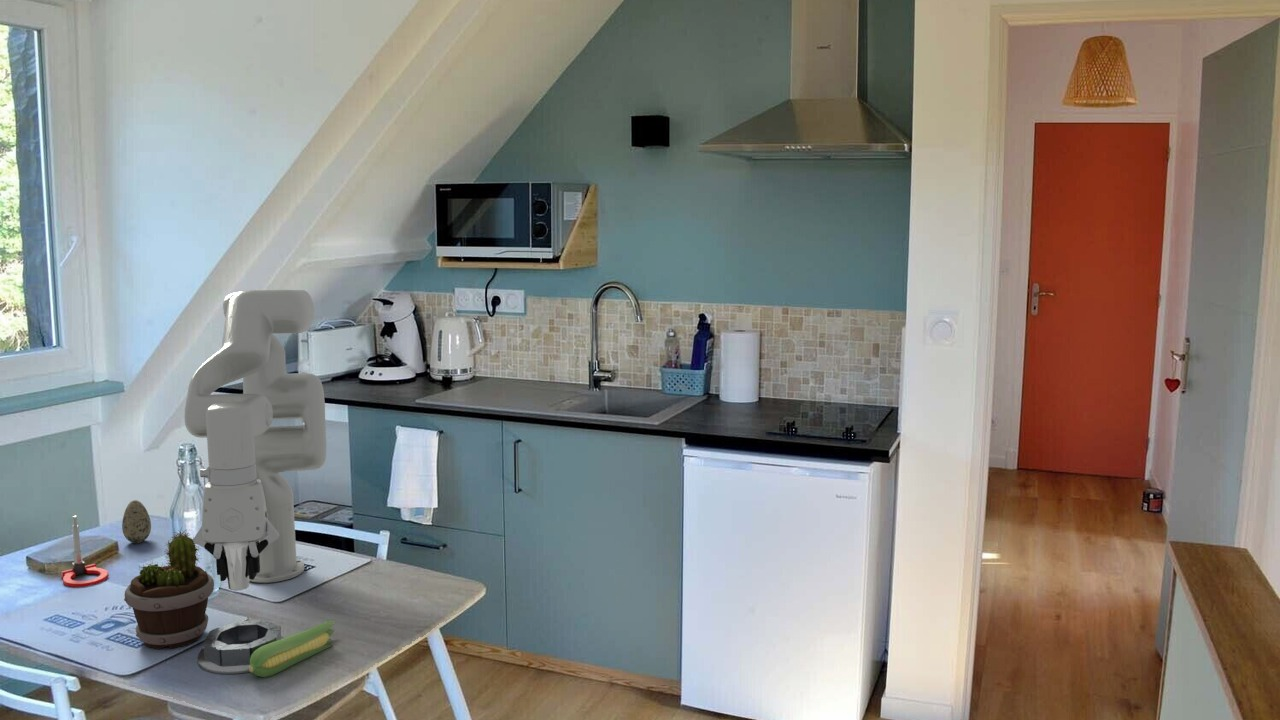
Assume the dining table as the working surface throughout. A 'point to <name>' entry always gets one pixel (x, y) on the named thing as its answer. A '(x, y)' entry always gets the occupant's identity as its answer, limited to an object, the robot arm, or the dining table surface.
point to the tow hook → (81, 565)
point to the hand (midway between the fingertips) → (238, 576)
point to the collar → (236, 645)
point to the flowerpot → (171, 597)
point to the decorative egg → (136, 522)
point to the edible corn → (290, 650)
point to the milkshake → (237, 565)
